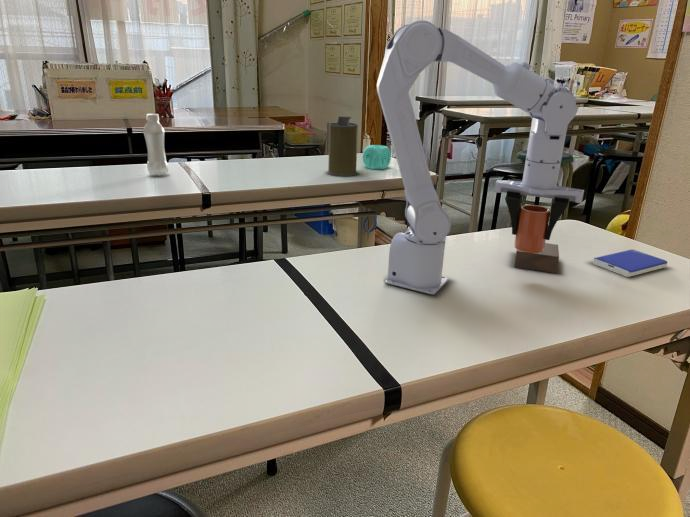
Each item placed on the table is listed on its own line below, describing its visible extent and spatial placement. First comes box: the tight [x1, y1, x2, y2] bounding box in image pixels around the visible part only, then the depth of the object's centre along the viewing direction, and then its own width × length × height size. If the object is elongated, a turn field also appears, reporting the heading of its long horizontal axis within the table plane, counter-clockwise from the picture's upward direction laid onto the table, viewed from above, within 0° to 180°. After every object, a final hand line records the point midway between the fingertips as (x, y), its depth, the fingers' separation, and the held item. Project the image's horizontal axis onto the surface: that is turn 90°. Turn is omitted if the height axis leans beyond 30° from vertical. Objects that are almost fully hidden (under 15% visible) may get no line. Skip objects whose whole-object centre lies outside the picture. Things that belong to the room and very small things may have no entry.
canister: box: [326, 115, 359, 177], centre depth 182 cm, size 11×10×20 cm
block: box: [513, 242, 560, 274], centre depth 106 cm, size 8×8×4 cm
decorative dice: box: [362, 144, 392, 170], centre depth 197 cm, size 8×8×8 cm
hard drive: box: [592, 248, 668, 278], centre depth 106 cm, size 2×8×12 cm
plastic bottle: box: [142, 113, 169, 177], centre depth 170 cm, size 6×7×20 cm
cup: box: [513, 204, 551, 253], centre depth 92 cm, size 5×5×8 cm
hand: (530, 235), depth 93 cm, fingers closed on cup, 5 cm apart
